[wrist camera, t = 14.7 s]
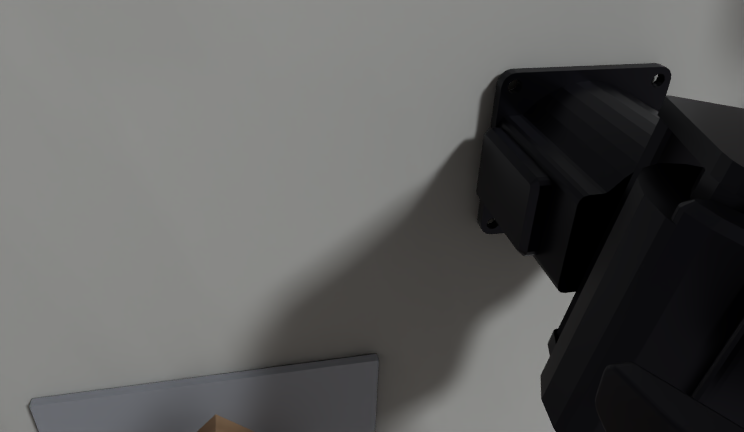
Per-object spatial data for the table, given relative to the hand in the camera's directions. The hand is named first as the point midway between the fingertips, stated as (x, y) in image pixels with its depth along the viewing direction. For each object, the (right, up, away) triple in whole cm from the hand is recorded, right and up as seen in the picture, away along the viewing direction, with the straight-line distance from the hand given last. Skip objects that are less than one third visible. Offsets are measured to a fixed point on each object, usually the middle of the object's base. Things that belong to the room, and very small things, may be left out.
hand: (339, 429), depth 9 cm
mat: (-6, -8, +19) cm, 22 cm away
